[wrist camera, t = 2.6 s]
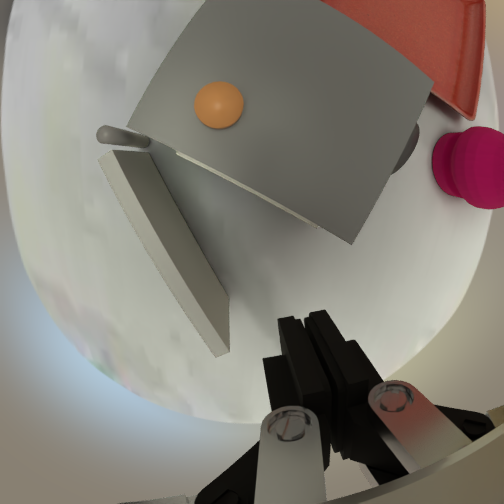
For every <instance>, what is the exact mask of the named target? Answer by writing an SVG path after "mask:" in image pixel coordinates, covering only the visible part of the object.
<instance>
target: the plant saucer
mask: <svg viewBox="0 0 504 504" xmlns="http://www.w3.org/2000/svg"><path fill="white" fill-rule="evenodd" d="M320 1H322V2H324V3H326V4H327V5H329V6H331V7H333V8H334V9H336V10H338V11H339V12H341V13H343V14H344V15H346V16H348V17H349V18H351V19H352V20H354V21H356V22H357V23H359V24H360V25H362V26H363V27H365V28H366V29H368V30H369V31H371V32H372V33H374V34H375V35H376V36H378V37H379V38H381V39H382V40H383V41H385V42H386V43H387V44H389V45H390V46H391V47H393V48H394V49H395V50H397V51H398V52H399V53H401V54H402V55H403V56H404V57H406V58H407V59H408V60H409V61H410V62H412V63H413V64H414V65H415V66H416V67H418V68H419V69H420V70H421V71H422V72H423V73H425V74H426V75H427V76H428V77H429V78H430V79H431V80H432V81H434V84H433V87H432V89H431V91H430V92H431V93H432V94H433V95H435V96H436V97H438V98H439V99H441V100H442V101H443V102H445V103H446V104H447V105H449V106H450V107H451V108H453V109H454V110H455V111H457V112H458V113H459V114H461V115H462V116H463V117H465V118H466V119H467V120H470V121H473V120H475V117H476V112H477V106H478V101H479V94H480V87H481V78H482V71H483V60H484V48H485V27H486V25H485V24H486V4H485V1H484V0H320Z"/></svg>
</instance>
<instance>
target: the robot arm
mask: <svg viewBox="0 0 504 504" xmlns="http://www.w3.org/2000/svg"><path fill="white" fill-rule="evenodd" d="M304 325H305V328H304V326H303V324H302V321H301V319H295V318H294V316H289V317H284V318H278V328H279V335H280V343H281V351H282V355H279V356H274V357H268V358H263V364H264V370H265V376H266V382H267V388H268V394H269V399H270V405H271V410H272V412H271V413H269V414H268V415H267V416H266V417H265V418H264V420H263V422H262V425H261V432H260V440H259V441H258V442H257V443H256V444H255V445H254V446H253V447H252V448H251V449H249V450H248V451H247V452H246V453H245V454H244V455H243V456H242V457H241V458H239V459H238V460H237V461H236V462H235V463H234V464H233V465H231V466H230V467H229V468H228V469H227V470H226V471H224V472H223V473H222V474H221V475H220V476H219V477H217V478H216V479H215V480H213V481H212V482H211V483H210V484H209V485H207V486H206V487H205V488H204V489H202V490H201V492H200V493H199V494H198V495H195V496H190V497H186V495H179V496H173V497H167V498H160V499H153V500H146V501H137V502H126V503H119V504H504V405H503V406H500V407H497V408H495V409H492V410H489V411H487V412H486V415H484V414H481V413H478V412H473V411H467V410H461V409H454V408H449V407H444V406H438V405H434V404H432V403H431V402H430V401H429V400H428V399H427V398H426V397H425V396H424V395H423V394H422V393H420V392H419V391H418V390H417V389H416V388H415V387H414V386H412V385H411V384H409V383H407V382H404V381H398V380H391V381H386V382H384V381H383V380H382V378H381V377H380V375H379V374H378V372H377V371H376V369H375V368H374V366H373V365H372V363H371V362H370V360H369V359H368V358H367V356H366V355H365V353H364V352H363V350H362V349H361V347H360V346H359V344H358V343H357V342H356V341H355V340H350V341H345V339H344V338H343V336H342V335H341V333H340V332H339V330H338V328H337V327H336V325H335V324H334V322H333V321H332V319H331V318H330V316H329V314H328V313H327V311H326V310H320V311H315V312H310V313H309V317H306V318H304ZM330 444H331V445H332V448H333V451H334V452H335V453H337V452H340V453H341V456H342V459H343V460H344V459H348V458H350V460H353V461H357V462H359V467H360V469H361V471H362V472H363V474H364V476H365V477H366V479H367V480H368V482H369V483H370V485H371V486H372V488H371V489H368V490H365V491H362V492H359V493H355V494H352V495H349V496H345V497H341V498H338V499H334V500H330V501H327V500H326V489H325V477H324V471H325V470H326V469H327V467H328V466H329V462H330V446H331V445H330Z"/></svg>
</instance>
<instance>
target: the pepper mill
mask: <svg viewBox="0 0 504 504" xmlns="http://www.w3.org/2000/svg"><path fill="white" fill-rule="evenodd" d="M432 164H433V172H434V176H435V179H436V181H437V183H438V185H439V186H440V187H441V189H442V190H443V191H444V192H446V193H447V194H449V195H452V196H456V197H460V198H464V199H465V200H466V201H467V202H468V203H469V204H471V205H473V206H474V207H477V208H482V209H496V208H501V207H504V134H502V133H501V132H499V131H496V130H494V129H492V128H488V127H480V126H478V127H471V128H469V129H467V130H465V131H464V132H458V133H447V134H445V135H443V136H442V137H441V138H440V139H439V141H438V142H437V143H436V146H435V148H434V151H433V158H432Z"/></svg>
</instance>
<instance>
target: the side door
mask: <svg viewBox="0 0 504 504" xmlns="http://www.w3.org/2000/svg"><path fill="white" fill-rule="evenodd" d="M96 137H97V140H98V141H99V142H100V143H103V144H112V145H121V146H130V147H138V148H145V147H147V146H148V144H149V139H148V137H147V136H144V135H141V134H137V133H133V132H130V131H126V130H122V129H118V128H115V127H111V126H107V125H105V126H102V127H100V128H99V129H98V131H97V134H96ZM98 162H99V164H100V166H101V168H102V170H103V172H104V174H105V176H106V178H107V180H108V182H109V184H110V186H111V188H112V190H113V191H114V193H115V195H116V197H117V199H118V201H119V203H120V205H121V207H122V208H123V210H124V212H125V214H126V216H127V218H128V219H129V221H130V223H131V225H132V227H133V228H134V230H135V232H136V234H137V235H138V237H139V239H140V241H141V242H142V244H143V246H144V248H145V249H146V251H147V253H148V254H149V256H150V258H151V259H152V261H153V263H154V264H155V266H156V268H157V269H158V271H159V273H160V274H161V276H162V278H163V279H164V281H165V282H166V284H167V286H168V287H169V289H170V290H171V292H172V294H173V295H174V297H175V298H176V300H177V301H178V303H179V305H180V306H181V308H182V309H183V311H184V312H185V314H186V315H187V317H188V318H189V320H190V321H191V323H192V324H193V326H194V327H195V329H196V330H197V332H198V333H199V335H200V336H201V338H202V339H203V340H204V342H205V343H206V345H207V346H208V348H209V349H210V350H211V352H212V353H213V355H214V356H215V358H216V357H219V356H221V355H224V354H226V353H228V352H230V333H229V297H228V296H227V294H226V292H225V291H224V289H223V287H222V285H221V284H220V282H219V280H218V279H217V277H216V275H215V273H214V272H213V270H212V268H211V266H210V265H209V263H208V261H207V259H206V258H205V256H204V254H203V252H202V251H201V249H200V247H199V245H198V244H197V242H196V240H195V238H194V236H193V235H192V233H191V231H190V229H189V227H188V226H187V224H186V222H185V220H184V218H183V217H182V215H181V213H180V211H179V209H178V207H177V206H176V204H175V202H174V200H173V198H172V196H171V194H170V193H169V191H168V189H167V187H166V185H165V183H164V181H163V179H162V177H161V176H160V174H159V172H158V170H157V168H156V166H155V164H154V162H153V160H152V158H151V156H150V154H149V153H147V152H136V151H123V150H111V151H109V152H108V153H106V154H105V155H103V156H102V157H100V158H99V159H98Z"/></svg>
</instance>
